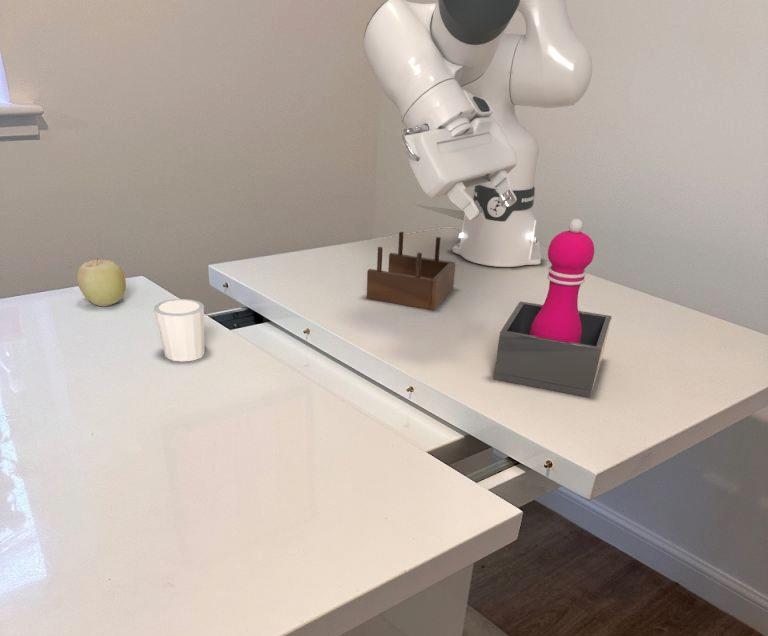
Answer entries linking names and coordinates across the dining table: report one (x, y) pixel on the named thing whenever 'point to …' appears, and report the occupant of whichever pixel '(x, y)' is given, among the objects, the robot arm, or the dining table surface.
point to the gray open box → (550, 353)
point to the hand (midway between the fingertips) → (494, 210)
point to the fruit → (101, 282)
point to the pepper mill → (564, 285)
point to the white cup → (181, 328)
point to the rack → (411, 279)
